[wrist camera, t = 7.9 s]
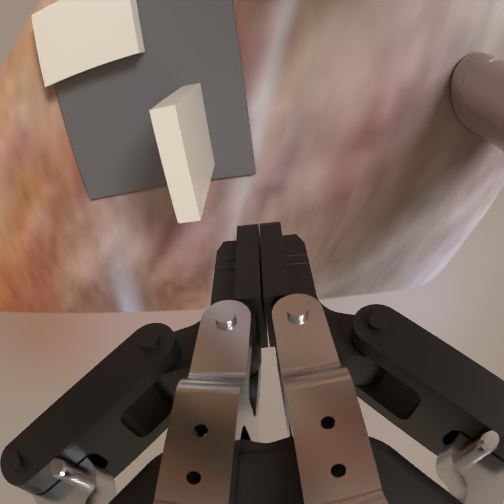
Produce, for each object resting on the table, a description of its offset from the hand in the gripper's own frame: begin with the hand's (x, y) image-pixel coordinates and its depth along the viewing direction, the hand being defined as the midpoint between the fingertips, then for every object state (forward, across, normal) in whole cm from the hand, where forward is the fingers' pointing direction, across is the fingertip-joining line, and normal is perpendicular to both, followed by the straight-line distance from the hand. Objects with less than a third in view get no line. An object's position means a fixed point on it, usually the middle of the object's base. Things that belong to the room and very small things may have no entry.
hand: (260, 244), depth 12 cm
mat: (+19, +9, -5) cm, 22 cm away
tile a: (+18, +8, -12) cm, 23 cm away
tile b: (+19, +5, 0) cm, 20 cm away
